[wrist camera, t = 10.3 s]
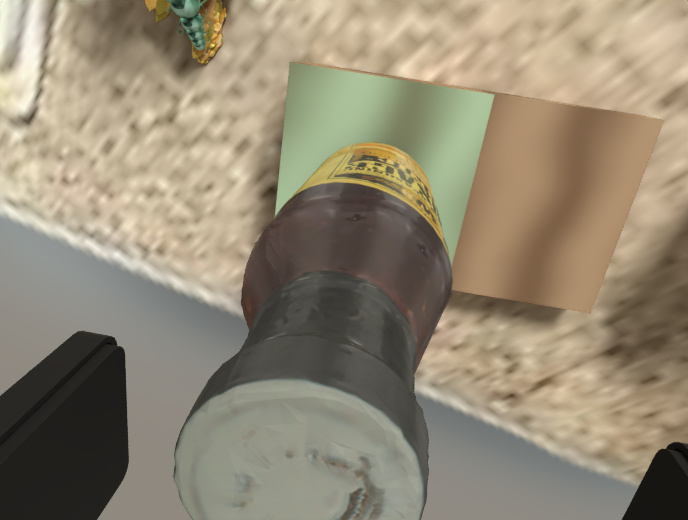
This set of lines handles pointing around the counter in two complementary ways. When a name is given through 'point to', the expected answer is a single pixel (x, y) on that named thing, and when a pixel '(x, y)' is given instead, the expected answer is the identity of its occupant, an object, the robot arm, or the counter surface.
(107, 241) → the counter surface
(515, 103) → the stand
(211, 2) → the teal toy figure
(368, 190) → the sauce bottle
